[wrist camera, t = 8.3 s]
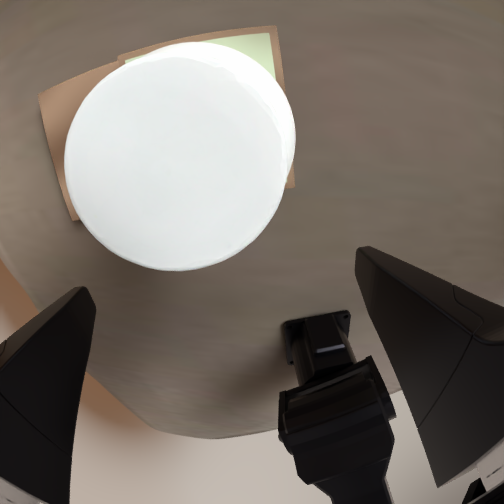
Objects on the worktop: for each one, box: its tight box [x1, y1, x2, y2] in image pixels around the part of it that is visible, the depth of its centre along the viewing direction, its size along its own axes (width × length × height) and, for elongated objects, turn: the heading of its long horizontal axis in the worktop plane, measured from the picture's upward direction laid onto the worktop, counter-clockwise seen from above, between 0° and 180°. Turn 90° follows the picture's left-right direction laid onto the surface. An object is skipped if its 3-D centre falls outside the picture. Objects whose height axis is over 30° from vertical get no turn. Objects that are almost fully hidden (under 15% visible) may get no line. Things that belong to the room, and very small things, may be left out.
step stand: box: [38, 25, 295, 221], centre depth 17 cm, size 10×16×3 cm, turn 97°
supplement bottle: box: [64, 42, 295, 271], centre depth 10 cm, size 6×6×11 cm
